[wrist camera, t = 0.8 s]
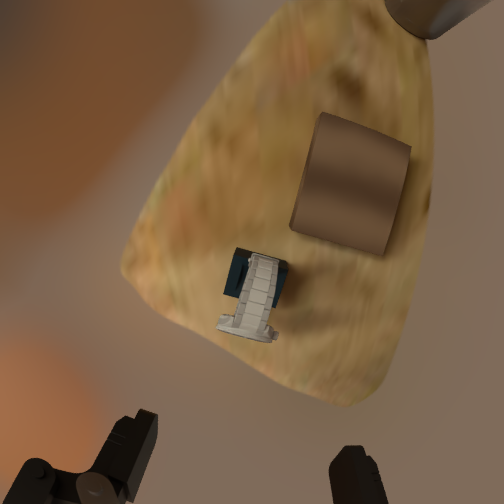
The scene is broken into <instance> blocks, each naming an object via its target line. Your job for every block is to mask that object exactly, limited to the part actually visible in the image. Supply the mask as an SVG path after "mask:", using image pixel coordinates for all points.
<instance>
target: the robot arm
mask: <svg viewBox="0 0 504 504" xmlns="http://www.w3.org/2000/svg"><path fill="white" fill-rule="evenodd" d="M491 1H493V0H385V5H386V7H387V9H388V11H389V13H390V14H391V16H392V17H393V18H394V19H395V20H396V21H397V22H398V23H399V24H400V25H401V26H402V27H403V28H405V29H406V30H407V31H409V32H411V33H412V34H414V35H416V36H418V37H420V38H424V39H429V40H433V39H436V38H438V37H440V36H441V35H442V34H444V33H445V32H446V31H448V30H449V29H451V28H452V27H454V26H455V25H457V24H458V23H459V22H461V21H462V20H464V19H465V18H467V17H468V16H470V15H471V14H473V13H474V12H476V11H477V10H479V9H480V8H482V7H483V6H485V5H486V4H488V3H489V2H491ZM157 433H158V415H157V414H155V413H152V412H149V411H146V410H143V409H140V410H139V411H138V413H137V415H136V417H135V419H133V418H131V417H128V416H124V417H123V418H122V419H120V420H118V421H117V422H116V423H115V425H114V427H113V429H112V431H111V433H110V434H109V436H108V438H107V440H106V441H105V443H104V445H103V447H102V449H101V451H100V452H99V454H98V456H97V458H96V460H95V462H94V464H93V466H92V467H91V468H90V469H89V470H87V471H86V472H83V473H70V472H66V471H62V470H58V469H54V468H53V467H52V466H51V465H50V464H49V463H48V462H46V461H45V460H43V459H40V458H31V459H29V460H27V461H26V462H25V463H24V465H23V466H22V468H21V470H20V472H19V473H18V475H17V477H16V479H15V481H14V482H13V484H12V487H11V488H10V490H9V492H8V494H7V495H6V497H5V499H4V501H3V504H125V502H126V501H129V502H132V503H133V502H134V499H135V496H136V494H137V491H138V488H139V485H140V483H141V480H142V478H143V475H144V472H145V470H146V467H147V464H148V462H149V459H150V457H151V454H152V451H153V449H154V446H155V443H156V439H157ZM329 478H330V484H331V490H332V497H333V503H334V504H388V500H387V497H386V493H385V490H384V487H383V483H382V481H381V477H380V474H379V471H378V467H377V464H376V462H375V461H374V460H373V459H372V458H371V456H366V453H365V450H364V448H363V446H361V445H357V446H354V445H353V446H352V445H351V446H344V447H343V449H342V450H341V451H340V452H339V454H338V455H337V456H336V457H335V458H334V460H333V461H332V462H331V464H330V466H329Z"/></svg>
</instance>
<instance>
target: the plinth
mask: <svg viewBox="0 0 504 504" xmlns="http://www.w3.org/2000/svg"><path fill="white" fill-rule="evenodd" d="M410 152H411V146H409V145H407V144H405V143H403V142H401V141H398V140H396V139H394V138H392V137H389V136H387V135H385V134H382V133H380V132H377V131H375V130H373V129H370V128H367V127H365V126H362V125H360V124H357V123H354V122H352V121H349V120H346V119H343V118H340V117H337V116H335V115H332V114H328V113H325V112H322V113H321V114H320V115H319V117H318V118H317V120H316V124H315V129H314V133H313V137H312V141H311V144H310V148H309V152H308V156H307V160H306V164H305V168H304V172H303V175H302V179H301V183H300V187H299V190H298V194H297V198H296V202H295V205H294V209H293V213H292V216H291V220H290V223H289V227H290V229H291V230H292V231H295V232H299V233H303V234H306V235H310V236H314V237H317V238H321V239H325V240H328V241H332V242H335V243H339V244H342V245H346V246H349V247H353V248H356V249H360V250H363V251H366V252H370V253H373V254H376V255H380V256H383V253H384V250H385V247H386V244H387V241H388V238H389V235H390V232H391V228H392V225H393V221H394V218H395V215H396V211H397V207H398V204H399V200H400V196H401V192H402V188H403V184H404V180H405V176H406V171H407V167H408V162H409V157H410Z"/></svg>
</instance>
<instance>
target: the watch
mask: <svg viewBox="0 0 504 504" xmlns="http://www.w3.org/2000/svg"><path fill="white" fill-rule="evenodd" d="M287 272H288V267H287V263H286V261H284V260H281V259H277V258H273V257H270V256H266V255H263V254H259V253H256V252H252V251H248V250H245V249H241V248H238V247H237V248H236V250H235V253H234V255H233V259H232V263H231V267H230V270H229V274H228V278H227V282H226V286H225V289H224V293H223V294H225V295H228V296H232V297H235V298H239V299H240V300H239V301H238V304H237V307H236V311H235V314H234V316H233V315H228V314H223V315H221V316H220V318H219V321H218V325H216V329H218V330H220V331H223V332H226V333H229V334H232V335H236V336H239V337H243V338H247V339H251V340H255V341H260V342H266V343H272V340H277V338H278V332H277V331H273V330H274V329H273V328H272V327H271V326H270V325H267V324H266V323H267V321H268V317H269V313H270V310H271V307H273V308H276V305H277V302H278V299H279V296H280V293H281V290H282V287H283V284H284V281H285V278H286V275H287ZM271 339H272V340H271Z"/></svg>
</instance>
